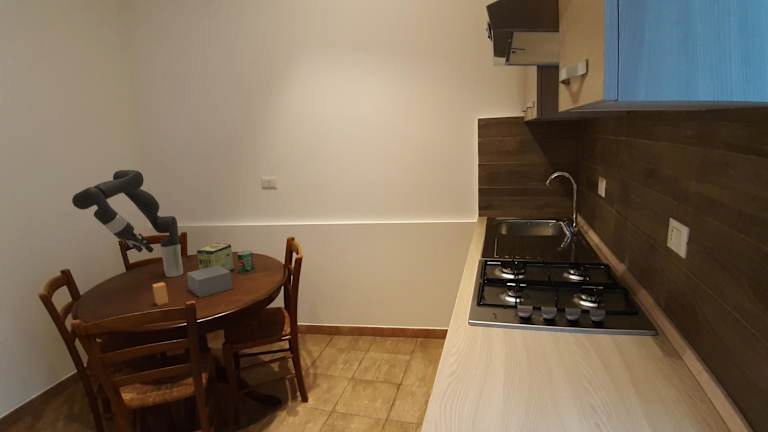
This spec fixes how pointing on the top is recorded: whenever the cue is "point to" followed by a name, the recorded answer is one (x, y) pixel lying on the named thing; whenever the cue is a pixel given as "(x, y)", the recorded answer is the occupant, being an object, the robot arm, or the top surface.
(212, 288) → the storage box
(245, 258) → the canned tomato
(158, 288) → the orange block
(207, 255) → the protein box
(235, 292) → the top surface
